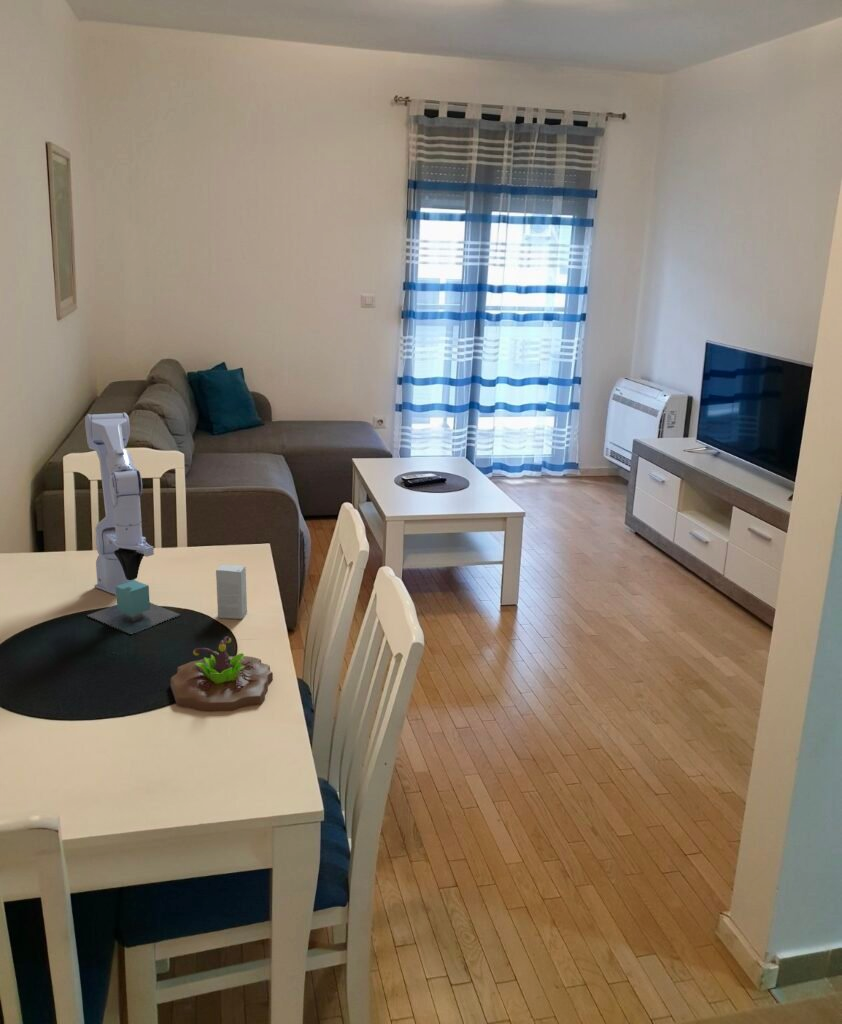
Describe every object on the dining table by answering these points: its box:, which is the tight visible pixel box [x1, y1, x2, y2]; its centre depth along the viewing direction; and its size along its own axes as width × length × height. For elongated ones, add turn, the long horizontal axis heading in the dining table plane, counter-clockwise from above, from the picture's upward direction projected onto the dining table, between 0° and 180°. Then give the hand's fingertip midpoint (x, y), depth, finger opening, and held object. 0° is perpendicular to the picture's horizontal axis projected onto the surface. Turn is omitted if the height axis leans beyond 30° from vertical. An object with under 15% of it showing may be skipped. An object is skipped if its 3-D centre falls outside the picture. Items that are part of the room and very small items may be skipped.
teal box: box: [115, 579, 151, 616], centre depth 209 cm, size 5×5×6 cm
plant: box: [170, 636, 274, 713], centre depth 177 cm, size 20×20×11 cm
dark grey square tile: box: [86, 602, 181, 635], centre depth 209 cm, size 16×14×7 cm
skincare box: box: [215, 564, 248, 620], centre depth 211 cm, size 6×4×12 cm
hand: (131, 578), depth 207 cm, fingers closed
